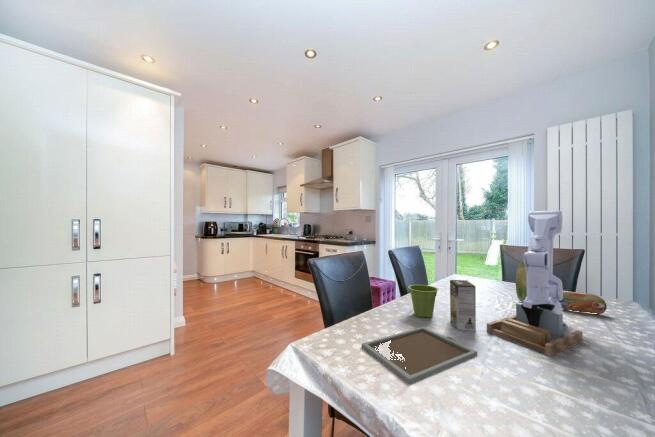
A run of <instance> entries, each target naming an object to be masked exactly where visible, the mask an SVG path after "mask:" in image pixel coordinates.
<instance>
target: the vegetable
mask: <svg viewBox="0 0 655 437" xmlns="http://www.w3.org/2000/svg"><path fill="white" fill-rule="evenodd" d="M515 274H516V275H515V292H516V293H515V294H516V297H517V299H518V301H520V303H523V301H524V300H525V299H526V297H527V276H526V274H527V272H525V264H524V260H523V261H520V263H519V264H518V266H517V268H516V273H515Z"/></svg>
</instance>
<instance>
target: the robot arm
mask: <svg viewBox="0 0 655 437" xmlns="http://www.w3.org/2000/svg"><path fill="white" fill-rule="evenodd" d="M527 220H528V222H527V223H528V226H529V228H530V230H531V232H532V233H534V234H533V236H531V237H530V238H529V241H528V242H529V243H528V246H527V252H524V254H523V261H524V264H525V272H527V274H526V276H527V297H526V299H525V300H524V301H523V302H522V303H523V304H521V307H522V309H523V310H524V312H525V314H526V316H527V319H528V322H529V325H532V326H535V327H539V320H540V316H541V314H542V312H543V309H547V310H551V311H555V312H559V313H563V310H562V309H563V308H562V306H561V304H560V302H559V301H561V300H562V299H563V292H564V289H563V282H562V280H561V279H560V278H559V277H557V276H556V275H554V274H553V271H554V240H555V237H556V235H558V234H560V233H562V229H563V212H562V210H559V209H558V210H538V211H536V210H535V211H533V210H531V211H529V212H528V214H527ZM537 307H539V308H543V309H539V308H537ZM564 324H566V321H564V320H563V325H564Z"/></svg>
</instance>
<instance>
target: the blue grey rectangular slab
mask: <svg viewBox="0 0 655 437" xmlns="http://www.w3.org/2000/svg"><path fill="white" fill-rule="evenodd" d="M521 304H523V302H515V315H516V321H519V322H522V323H525V324H529V322H528V319H527V316H526V314H525V312H524V310H523V309H522V307H521ZM537 308H539V307H537ZM539 309H543V308H539ZM563 315H564V314H563V312H562V313H559V312H555V311H551V310H547V309H543V312H542V314H541V316H540V320H539V327H538V328H541V329H544V330H547V331H550V341H553V340H556V339H558V338H560V337H563V336H564V324H563V321H564V317H563Z"/></svg>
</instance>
